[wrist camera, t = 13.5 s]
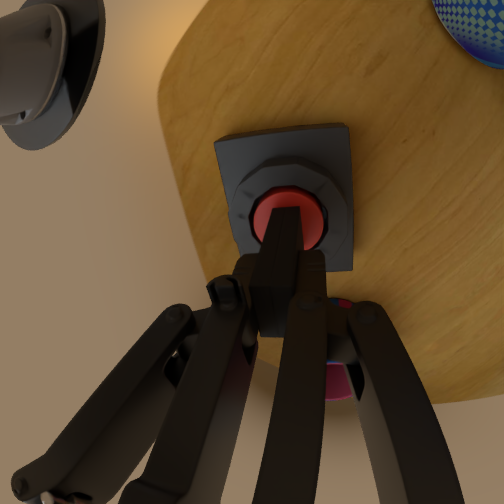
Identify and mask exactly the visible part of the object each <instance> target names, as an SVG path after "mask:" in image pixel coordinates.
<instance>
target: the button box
mask: <svg viewBox="0 0 504 504" xmlns="http://www.w3.org/2000/svg"><path fill="white" fill-rule="evenodd" d="M214 147H215V152H216V156H217V160H218V165H219V169H220V173H221V177H222V182H223V186H224V190H225V194H226V199H227V203H228V207H229V211H228V217H229V221H230V225H231V229H232V233H233V237H234V240H235V242H236V243H237V245H238V249H239V253H240V257H242V256H243V255H244V254H249V253H259V250H260V247H261V244H262V242H261V241H260V239H259V238H258V236H257V234H256V232H255V229H254V223H253V220H254V214H255V211H256V209H257V206H258V204H259V202H260V199H261V197H262V196H263V194H264V193H265V192H266V191H268V190H269V189H270V188H272V187H278V186H289V185H296V186H298V187H300V188H303V189H305V190H307V191H310V192H312V193H314V194H315V195H316V196H317V198H318V199H319V200H320V203H321V206H322V212H323V232H322V235H321V237H320V239H319V240H318V242H317V243H316V244H315V245H314V246H313V247H312V248H310V249H309V250H315V249H320V250H321V251H322V252H323V254H324V255H325V264H326V272H338V271H352V270H353V238H354V216H353V181H352V163H351V149H350V138H349V128H348V126H346V125H345V124H344V123H327V124H312V125H301V126H291V127H282V128H273V129H266V130H259V131H252V132H245V133H239V134H233V135H228V136H224V137H222V138H220V139H218V140H217V141H215V142H214Z"/></svg>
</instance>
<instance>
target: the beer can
mask: <svg viewBox="0 0 504 504" xmlns="http://www.w3.org/2000/svg"><path fill="white" fill-rule="evenodd" d="M432 2H433V5H434V7H435V10H436V13H437V15H438V17H439V19H440V21H441V22H442V24H443V25H444V27H445V28H446V30H447V31H448V32H449V34H450V35H451V36H452V37H453V38H454V39H455V41H456V42H457V43H458V44H460V45H461V46H462V47H463V48H464V49H465V50H466V51H467V52H468V53H469V54H470V55H471V56H473V57H474V58H475V59H477V60H478V61H480V62H481V63H483V64H485V65H487V66H489V67H492V68H496V69H504V0H432Z"/></svg>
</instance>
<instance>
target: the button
mask: <svg viewBox="0 0 504 504" xmlns="http://www.w3.org/2000/svg"><path fill="white" fill-rule="evenodd" d="M291 206H300V212H301V221H302V231H303V241H304V250H309V249H310V248H312V247H313V246H314V245H315V244H316V243H317V242H318V240H319V239H320V237H321V235H322V232H323V212H322V206H321V203H320V200H319V199H318V198H317V196H316V195H315V194H314V193H312V192H310V191H307V190H305V189H303V188H300V187H298V186H296V185H289V186H278V187H272V188H270V189H269V190H268V191H266V192H265V193H264V194H263V196H262V197H261V199H260V202H259V204H258V206H257V209H256V211H255V214H254V220H253V223H254V229H255V232H256V234H257V236H258V238H259V239H260V241H261V242H262V240H263V237H264V234H265V231H266V227H267V224H268V221H269V217H270V214H271V211H272V208H278V207H291Z"/></svg>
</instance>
